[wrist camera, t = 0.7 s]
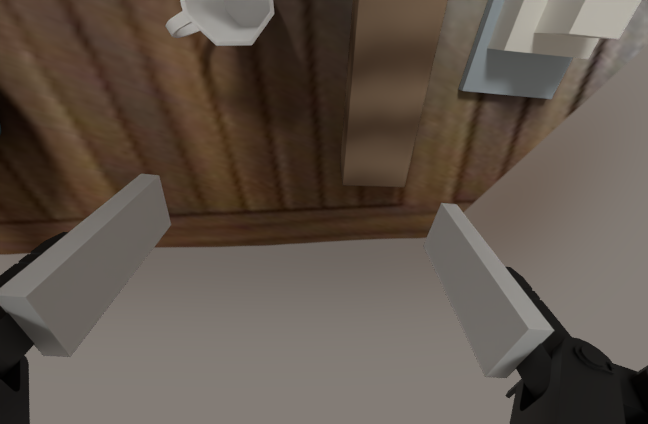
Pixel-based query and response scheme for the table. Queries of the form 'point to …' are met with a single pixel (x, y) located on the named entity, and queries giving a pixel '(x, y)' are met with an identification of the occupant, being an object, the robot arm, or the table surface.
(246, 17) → the cup
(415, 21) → the beam
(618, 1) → the fulcrum
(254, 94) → the table surface
